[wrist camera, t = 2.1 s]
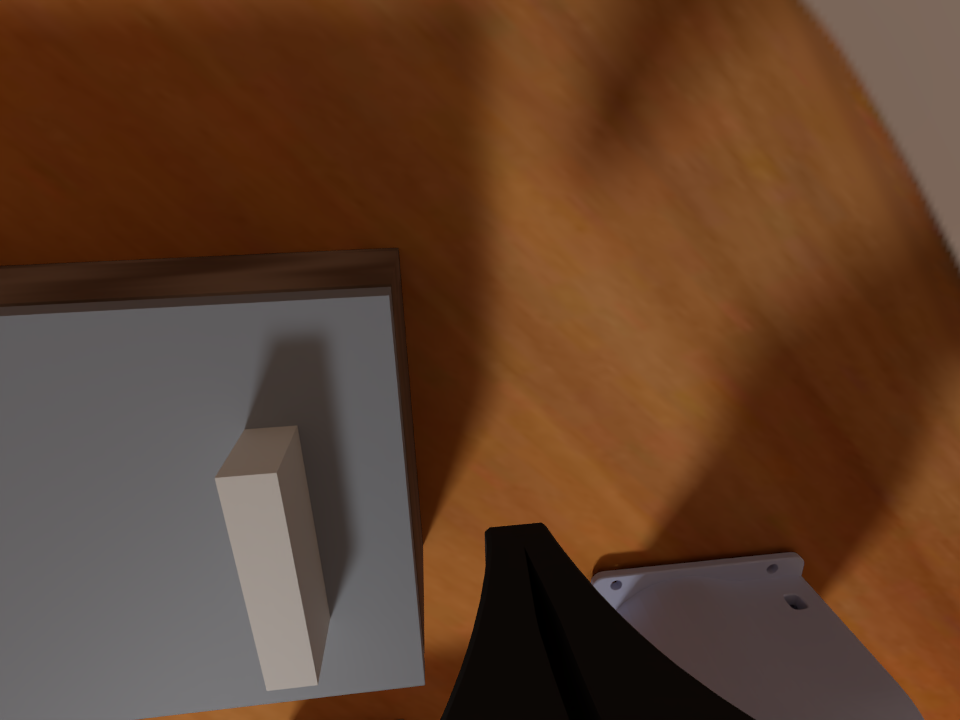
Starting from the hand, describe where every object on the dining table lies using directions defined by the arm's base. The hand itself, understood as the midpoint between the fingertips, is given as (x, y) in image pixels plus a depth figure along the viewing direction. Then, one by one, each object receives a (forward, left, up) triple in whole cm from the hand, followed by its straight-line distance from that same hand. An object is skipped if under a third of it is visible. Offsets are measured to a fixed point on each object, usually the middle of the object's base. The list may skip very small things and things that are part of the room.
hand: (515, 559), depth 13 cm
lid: (+9, 0, -3) cm, 10 cm away
